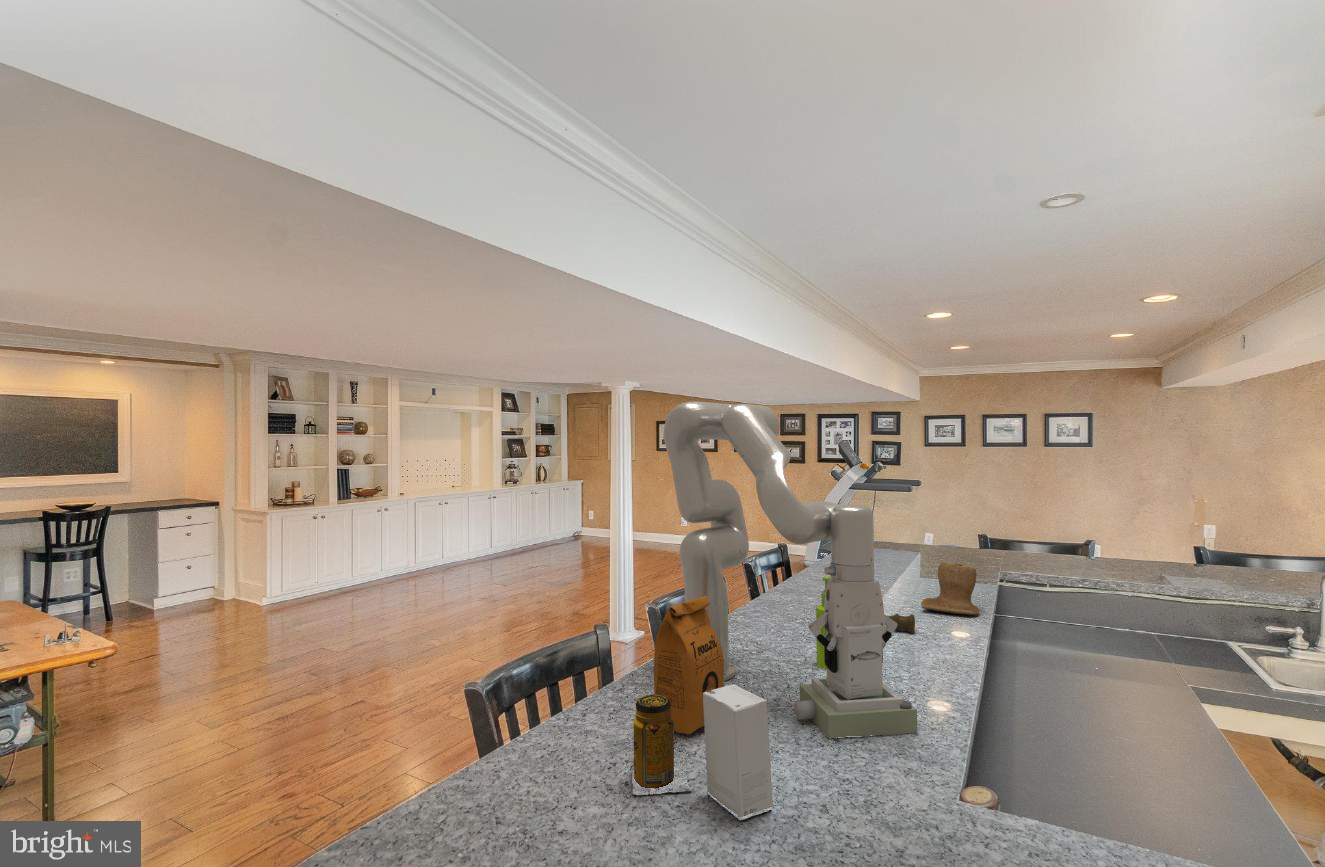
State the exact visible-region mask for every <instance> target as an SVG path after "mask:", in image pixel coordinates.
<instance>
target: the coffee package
mask: <svg viewBox="0 0 1325 867" xmlns="http://www.w3.org/2000/svg"><path fill="white" fill-rule="evenodd" d="M709 605H710V602H709V599H708V597H707V596H704V597H701V598H697V599H693V600H690V601H686V602H685V601H681V602H678V603H676V604H674V605H672V606H669V607H668V608H667V611H666V613H665V615H664V618H663V619H662V623H661V624H660V627H659V629H658V631H657V635H656V636H655V644H654V645H655V646H654V653H653V654H654V655H653V656H654V657H653V658H654V660H653V664H654V665H653V690H654V691H653V695H661V696H665V697H667V698H668V699H669V700H670V702H671V716H672V718H673V721H674V732H676V733H679V734H686V735H691V734H692V733H694V732H695V731H696V730H698V729H701V728H702V727H703V728H704V707H703V693H704V692H707V691H710V690H714V689H718V688H721V687H725V684H724V682H725V681H724V658H723V653H722V648H721V645H720V643H719V640H718V637H717V635H716V633H715V630H714V629H713V627H712V626H711V623H710V619H709V616H708V612H707V611H706V610H705V607H707V606H709Z"/></svg>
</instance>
